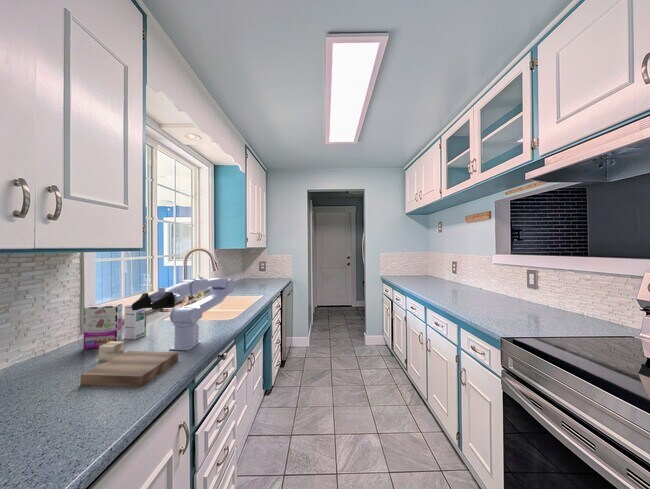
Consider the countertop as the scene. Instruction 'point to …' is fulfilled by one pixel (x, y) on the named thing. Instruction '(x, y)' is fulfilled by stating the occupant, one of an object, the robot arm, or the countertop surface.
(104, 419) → the countertop surface
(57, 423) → the countertop surface
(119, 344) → the birch cube
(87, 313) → the candy bar box
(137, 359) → the walnut plinth
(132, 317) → the syrup box
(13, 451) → the countertop surface
